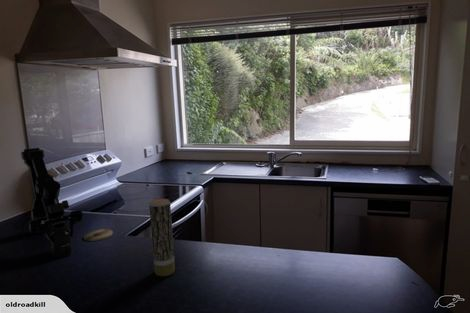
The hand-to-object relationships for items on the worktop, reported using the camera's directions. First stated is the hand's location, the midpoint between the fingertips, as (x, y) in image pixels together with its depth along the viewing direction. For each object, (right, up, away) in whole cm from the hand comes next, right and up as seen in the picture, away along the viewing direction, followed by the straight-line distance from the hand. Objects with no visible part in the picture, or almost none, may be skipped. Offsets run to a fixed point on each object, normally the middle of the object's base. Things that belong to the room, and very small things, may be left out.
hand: (62, 239), depth 131 cm
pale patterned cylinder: (+43, -8, -15) cm, 46 cm away
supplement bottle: (-1, -7, +2) cm, 7 cm away
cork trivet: (+6, -3, +20) cm, 21 cm away
